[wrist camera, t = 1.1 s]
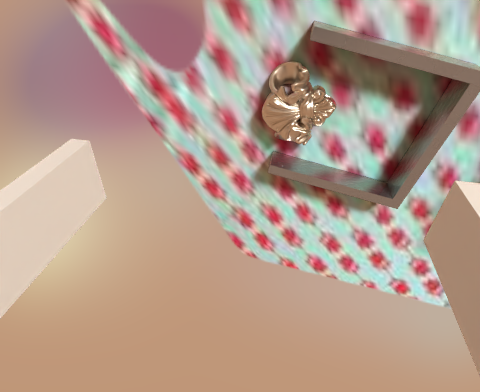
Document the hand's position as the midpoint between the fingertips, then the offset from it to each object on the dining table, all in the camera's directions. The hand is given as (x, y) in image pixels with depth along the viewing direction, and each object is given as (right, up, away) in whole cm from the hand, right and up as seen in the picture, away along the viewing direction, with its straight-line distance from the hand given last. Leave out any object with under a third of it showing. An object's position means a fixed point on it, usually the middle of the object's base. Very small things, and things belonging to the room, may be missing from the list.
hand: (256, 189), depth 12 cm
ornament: (+5, +9, +19) cm, 22 cm away
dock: (+11, +7, +19) cm, 23 cm away
